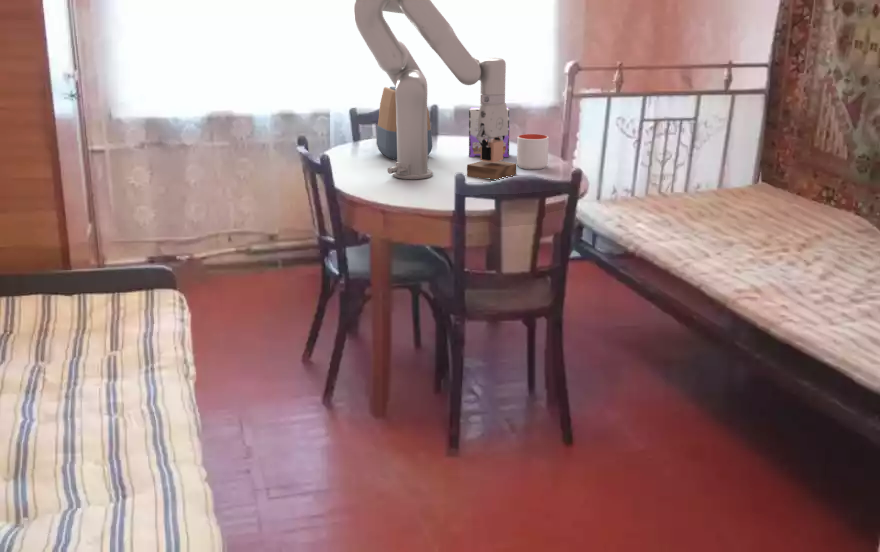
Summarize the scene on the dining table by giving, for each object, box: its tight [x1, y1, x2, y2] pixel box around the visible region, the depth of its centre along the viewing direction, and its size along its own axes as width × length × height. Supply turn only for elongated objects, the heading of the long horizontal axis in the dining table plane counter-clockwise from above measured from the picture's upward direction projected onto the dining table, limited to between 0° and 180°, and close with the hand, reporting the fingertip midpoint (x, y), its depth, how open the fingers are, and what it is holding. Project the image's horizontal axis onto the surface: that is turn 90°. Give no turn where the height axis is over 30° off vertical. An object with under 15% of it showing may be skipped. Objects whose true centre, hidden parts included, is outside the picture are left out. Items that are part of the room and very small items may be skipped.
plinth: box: [466, 160, 517, 180], centre depth 296 cm, size 11×11×4 cm
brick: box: [480, 139, 504, 162], centre depth 294 cm, size 5×5×6 cm
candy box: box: [468, 106, 511, 158], centre depth 323 cm, size 14×6×16 cm, turn 84°
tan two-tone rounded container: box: [376, 86, 433, 161], centre depth 323 cm, size 17×17×23 cm
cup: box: [516, 133, 550, 171], centre depth 307 cm, size 10×10×10 cm
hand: (491, 157), depth 295 cm, fingers closed on brick, 4 cm apart
